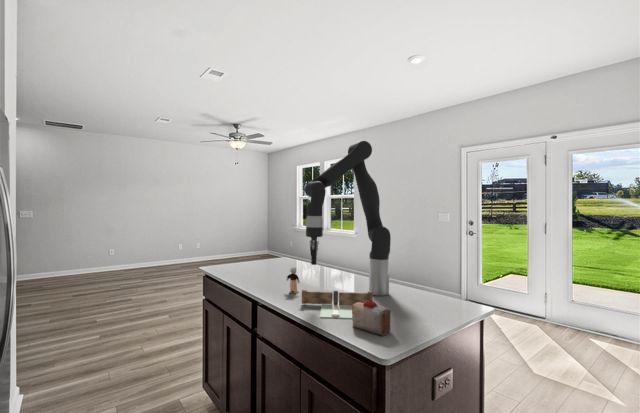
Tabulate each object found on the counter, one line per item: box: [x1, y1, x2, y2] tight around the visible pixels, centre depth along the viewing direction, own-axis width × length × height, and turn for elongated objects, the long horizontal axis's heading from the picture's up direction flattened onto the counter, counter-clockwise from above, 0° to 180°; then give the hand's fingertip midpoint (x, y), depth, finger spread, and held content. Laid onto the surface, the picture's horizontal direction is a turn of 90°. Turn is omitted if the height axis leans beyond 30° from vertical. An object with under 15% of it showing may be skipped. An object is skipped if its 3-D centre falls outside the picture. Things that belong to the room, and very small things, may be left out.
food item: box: [351, 300, 392, 337], centre depth 111 cm, size 14×8×10 cm, turn 49°
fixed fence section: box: [338, 290, 374, 306], centre depth 136 cm, size 14×2×6 cm, turn 87°
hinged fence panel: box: [301, 289, 339, 305], centre depth 137 cm, size 16×2×6 cm, turn 87°
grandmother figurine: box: [286, 266, 301, 294], centre depth 156 cm, size 8×4×13 cm, turn 71°
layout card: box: [319, 300, 353, 320], centre depth 132 cm, size 23×21×1 cm
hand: (313, 264), depth 143 cm, fingers closed
